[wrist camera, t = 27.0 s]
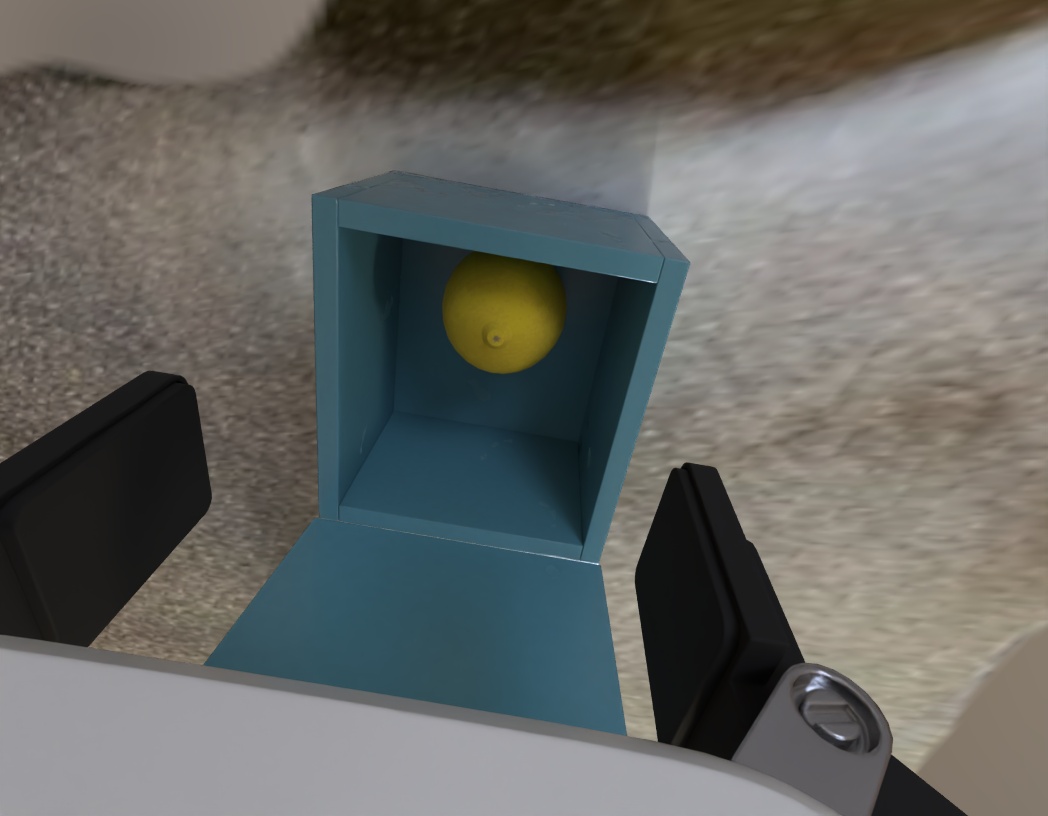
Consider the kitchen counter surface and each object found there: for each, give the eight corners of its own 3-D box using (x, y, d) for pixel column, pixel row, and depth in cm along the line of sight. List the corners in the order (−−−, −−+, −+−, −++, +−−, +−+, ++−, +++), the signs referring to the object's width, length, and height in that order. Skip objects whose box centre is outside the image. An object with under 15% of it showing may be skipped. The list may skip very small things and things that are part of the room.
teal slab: (0, 932, 10) (45, 1097, 12) (673, 1032, 10) (602, 1177, 13) (314, 516, 24) (310, 629, 26) (601, 564, 24) (573, 672, 26)
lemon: (475, 344, 30) (449, 413, 23) (445, 242, 27) (405, 284, 20) (575, 322, 29) (580, 388, 22) (553, 216, 26) (550, 250, 19)
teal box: (393, 170, 27) (310, 194, 18) (649, 216, 27) (690, 262, 18) (382, 413, 33) (318, 518, 24) (588, 448, 33) (598, 564, 25)
